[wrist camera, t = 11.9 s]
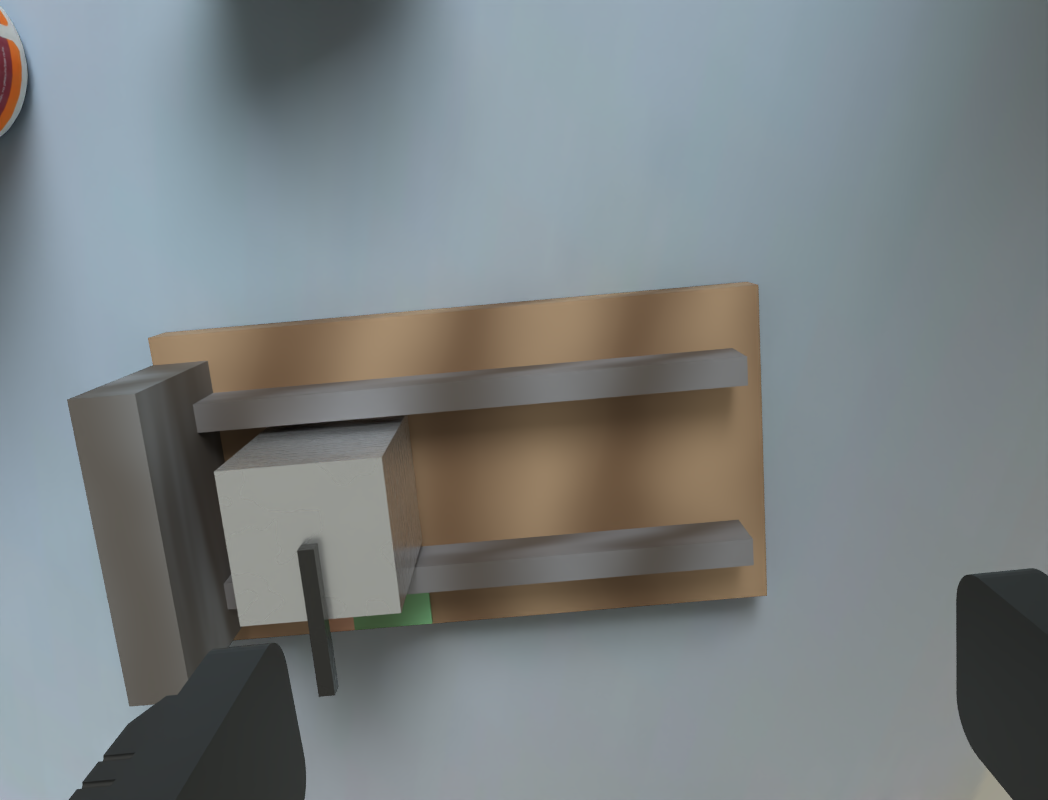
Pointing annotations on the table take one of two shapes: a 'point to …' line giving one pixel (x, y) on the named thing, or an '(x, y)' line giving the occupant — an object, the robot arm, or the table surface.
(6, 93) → the pill bottle
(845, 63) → the table surface
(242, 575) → the gauge slider
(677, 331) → the gauge track
